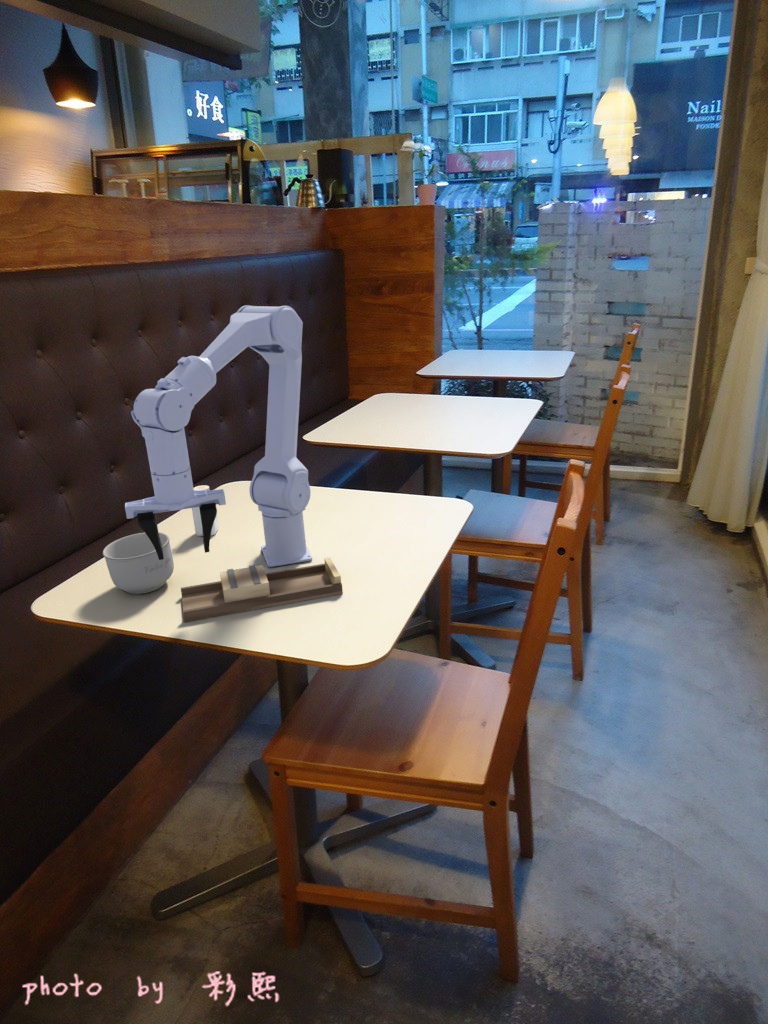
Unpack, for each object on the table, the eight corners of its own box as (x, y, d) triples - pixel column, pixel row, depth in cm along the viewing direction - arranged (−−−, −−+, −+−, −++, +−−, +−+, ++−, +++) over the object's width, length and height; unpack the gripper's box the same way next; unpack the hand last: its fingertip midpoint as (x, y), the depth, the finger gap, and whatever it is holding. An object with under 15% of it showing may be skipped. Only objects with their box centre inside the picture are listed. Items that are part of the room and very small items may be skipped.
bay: (182, 597, 123) (179, 581, 122) (330, 571, 129) (329, 556, 128) (184, 622, 115) (181, 605, 114) (342, 593, 121) (341, 577, 120)
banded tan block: (222, 589, 124) (219, 570, 122) (264, 582, 125) (262, 563, 124) (226, 608, 117) (223, 588, 116) (270, 600, 119) (268, 581, 118)
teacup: (159, 602, 122) (151, 557, 119) (98, 599, 124) (89, 555, 121) (194, 565, 135) (187, 524, 132) (139, 564, 137) (131, 523, 134)
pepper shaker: (215, 536, 147) (208, 490, 144) (195, 537, 148) (188, 491, 144) (219, 528, 151) (213, 484, 148) (200, 529, 151) (193, 485, 148)
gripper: (118, 484, 106) (135, 571, 111) (222, 470, 109) (233, 555, 114) (120, 470, 112) (135, 553, 117) (218, 458, 116) (229, 539, 121)
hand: (184, 553), depth 116 cm, fingers open, 6 cm apart
